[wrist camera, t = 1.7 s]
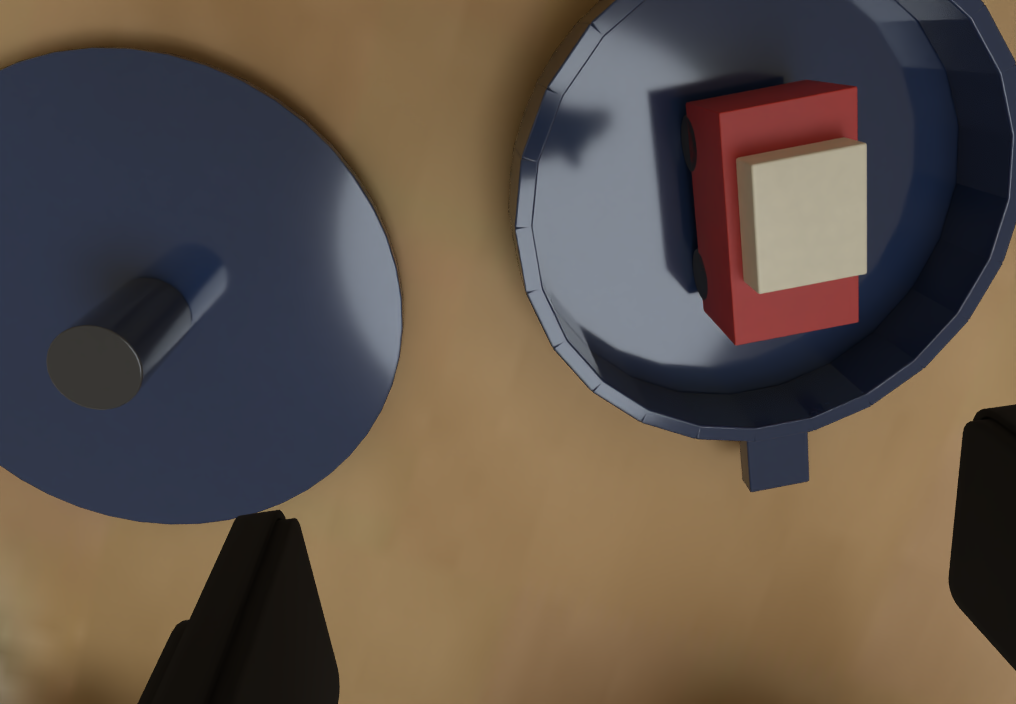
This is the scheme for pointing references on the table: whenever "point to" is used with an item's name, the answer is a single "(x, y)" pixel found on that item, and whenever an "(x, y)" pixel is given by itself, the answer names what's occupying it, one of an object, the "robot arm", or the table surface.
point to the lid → (182, 290)
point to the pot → (671, 212)
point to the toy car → (778, 208)
